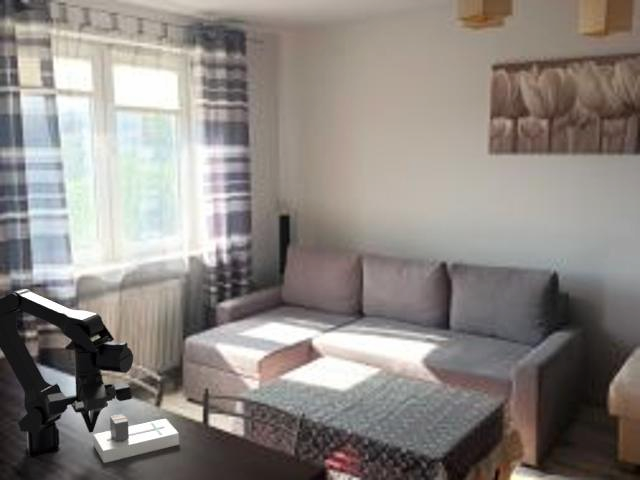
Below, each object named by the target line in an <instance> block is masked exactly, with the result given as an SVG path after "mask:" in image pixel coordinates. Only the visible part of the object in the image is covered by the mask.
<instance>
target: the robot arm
mask: <svg viewBox="0 0 640 480" xmlns="http://www.w3.org/2000/svg"><path fill="white" fill-rule="evenodd" d="M17 311H21V312H23V313H26V314H28V315H30V316H32V317H34V318H37V319H39V320H41V321H43V322H45V323H48V324H50V325H52V326H54V327H57V328H58V329H60V331H61V333H62V334H63V335H64V336H65V337H66V338H67V339H69V340H71V341H70V342H69V343H68V344H67V345H66V346H65V347H64V348H65V350H66V351H67V350H68V351H73V354H74V355H73V356H74V359H73V360H74V375H75V376H74V377H75V395H74V394H73V395H70V396H66V395H65V394H64V393H63V392H62V390H61V387H60V386H59V384H58V383H54V384H50V383H49V382H47V381H46V380H45V378H44V377H43V375H42V373H41V371H40V369H39V367H38V366H37V364H36V362H35V360H34V358H33V357H32V355H31V353H30V351H29V349H28V348H27V346H26V344H25V342H24V341H23V339H22V337H21V334H20V333H19V331H18V329H17V328H18V327H17V326H18V325H17V323H18V316H17V313H16V312H17ZM97 337H98V338H97ZM94 338H97V339H94ZM92 339H94V340H93V341H92ZM0 350H1V352H2V353H3V355H4V357H5V359H6V360H7V362H8V364H9V366H10V368H11V370H12V371H13V373H14V375H15V377H16V379H17V380H18V383H19V384H20V386H21V388H22V389H23V392H24V405H23V407H24V408H25V411H26V414H25V415H24V416H23V417H22V418H21V419H20V420H19V421H18V424H17V425H18V427H19V430H20V431H21V432H25V433H26V445H25V447H26V451H27V453H28V456H29V458H32V457H33V458H34V457H38V456H43V455H45V454H46V455H47V454H49V453H55V452H59V450H60V449H59V446H60V429H59V427H58V425H57V424H56V422H57V421H59V420H61V418H62V414H63V413H64V412H66V411H67V409H68V406H71V407H72V409H73V411H74V412H75V413H76V414H77V413H80V414H81V416H82V418H83V421H84V424H85V426H86V429H87V431H88V433H91V434H92V433H93V432H94V430H95V428H96V427H95V426H96V424H97V421H98V419H99V416H100V414H101V411H103V410H104V409H105V408H107V407H108V406H109V403H108V402H111V401H113V400H115V399H116V400H117V401H119V402H124V401H128V400H129V401H130V400H131V399H133V398H134V397H133V389H132V387H131V386H130V385H129V384H128V383H127V381H125V380H124V381H119V382H118V381H117V382H113V383H104V381H103V374H102V371H103V372H111V373H118V374H119V373H121V374H127V373H129V371H130V369H132V366H133V363H134V362H133V361H134V354H133V352H132V350H131V348H129V346H128V342H126V341H125V342H123V341H120V342H115V338H114V336H113V335H112V334H111V332H110V331H109V329H108V328H107V326H106V324H104V322H103V319H102V316H101V315H100V314H98V313H95V312H92V311H87V310H81V309H79V310H77V309H70V308H68V307H66V306H63V305H61V304H58V302H57V303H56V302H54V301H53V300H49V299H48V298H45V297H43V296H40V295H38V294H36V293H34V292H32V291H31V290H29V289H27V288H22V289H18V290H15V291H12V292H10V293H8V294H7V295H5V296H3V297H0Z"/></svg>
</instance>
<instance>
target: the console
mask: <svg viewBox="0 0 640 480" xmlns="http://www.w3.org/2000/svg"><path fill="white" fill-rule="evenodd" d="M128 433H129V439H126V440H121V441H117V442H116V441H115V439H114V438H113V436H112V435H111V430H106V431H102V432H98V433H94V434H93V447H94V448H95V450H96V452H97V453H98V456H99V457H100V459H101V460H102V462H103V464H105V463H109V462H110V463H111V462H114V461H118V460H120V459H125V458H130V457H134V456H137V455H142V454H146V453H149V452H154V451H158V450H162V449H166V448H170V447H174V446H179V445H180V433H179V431H177V429H176V428H175V427H174V426H173V425H172V424H171V423H170V422H169V420H168V419H167V418H162V419H156V420H153V421H148V422H147V421H146V422H144V423H139V424H138V423H137V424H134V425H130V426H129V425H128Z"/></svg>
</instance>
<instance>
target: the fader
mask: <svg viewBox="0 0 640 480" xmlns="http://www.w3.org/2000/svg"><path fill="white" fill-rule="evenodd" d="M109 421H110V422H109V423H110V426H109V427H110V429H109V430H110V431H111V435H112V436H113V438H114V439H115V441H116V442H117V441H121V440H126V439H129V433H128V427H129V419H127V417H126V416H125V415H124V414H123V413H120V414H119V413H118V414H114V415H109Z"/></svg>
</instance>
